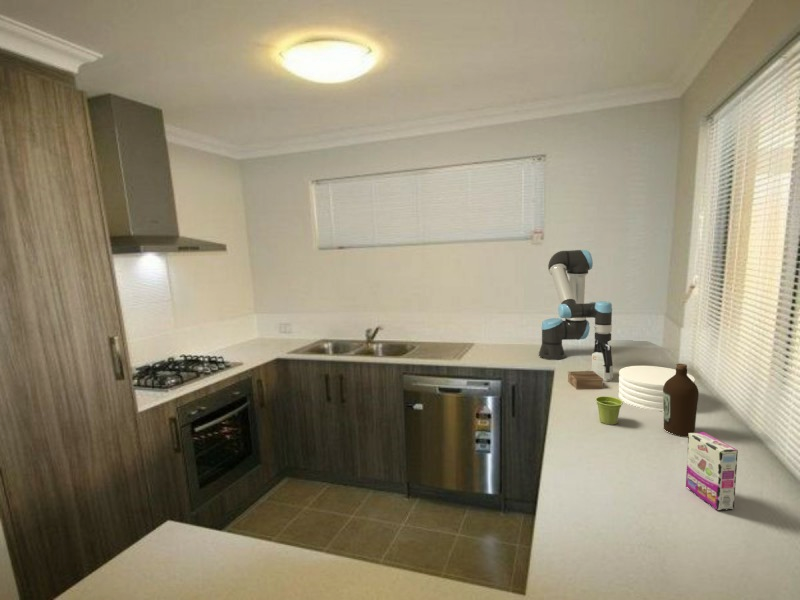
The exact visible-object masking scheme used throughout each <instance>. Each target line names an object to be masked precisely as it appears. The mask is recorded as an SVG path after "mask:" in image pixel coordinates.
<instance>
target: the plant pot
mask: <svg viewBox="0 0 800 600" xmlns="http://www.w3.org/2000/svg"><path fill="white" fill-rule="evenodd" d="M595 401H596V405H597V409H598V419H599V421H600V423H603V424H604V423H605V424H604V425H608V424H614V425H616V423H617V424H618V420H619V415H620V410H621V407H622V405H623V403H624V402H623V401H622V400H621V399H620V398H617V397H615V396H614V397H613V396H607V395H604V396H597V397H595Z"/></svg>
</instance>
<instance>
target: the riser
mask: <svg viewBox="0 0 800 600" xmlns="http://www.w3.org/2000/svg"><path fill="white" fill-rule="evenodd" d="M567 382H568V383H569V384H570V385H571V386H572V387H573V388H575V390H603V389H604V388H603V384H604V383H603V382H604V381H603V378H601V377H600V376H599V375H597V374H596V373H595V372H593V371H592V370H582V371H579V370H578V371H567Z"/></svg>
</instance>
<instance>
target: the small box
mask: <svg viewBox="0 0 800 600" xmlns="http://www.w3.org/2000/svg"><path fill="white" fill-rule="evenodd" d="M611 355H612V364H613V366H610V379H604V366H603V365H605V364H604V359H603V354H602V353H601V352H595V353H594V352H593V353H591V371H593V372H595V373H596V374H597V375H599V376H600V377H601V378H603V382H609V381H611V380H613V378H614V354H613V353H611Z"/></svg>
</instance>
